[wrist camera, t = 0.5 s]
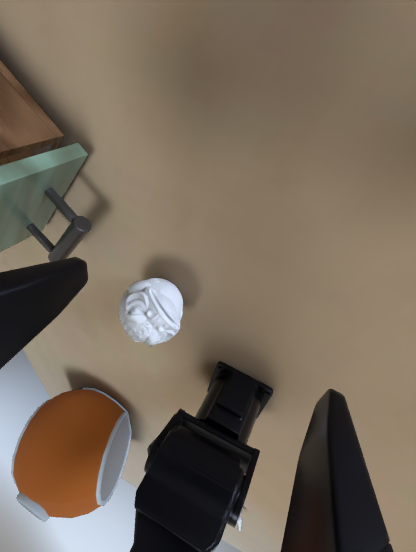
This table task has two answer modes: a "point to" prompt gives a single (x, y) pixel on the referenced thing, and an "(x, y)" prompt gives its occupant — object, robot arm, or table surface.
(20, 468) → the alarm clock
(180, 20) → the table surface
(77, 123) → the table surface
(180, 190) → the table surface
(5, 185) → the drawer
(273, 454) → the table surface
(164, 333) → the white carved sculpture
